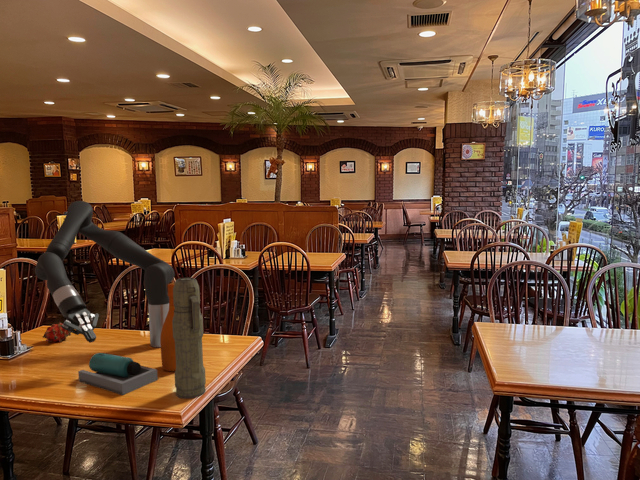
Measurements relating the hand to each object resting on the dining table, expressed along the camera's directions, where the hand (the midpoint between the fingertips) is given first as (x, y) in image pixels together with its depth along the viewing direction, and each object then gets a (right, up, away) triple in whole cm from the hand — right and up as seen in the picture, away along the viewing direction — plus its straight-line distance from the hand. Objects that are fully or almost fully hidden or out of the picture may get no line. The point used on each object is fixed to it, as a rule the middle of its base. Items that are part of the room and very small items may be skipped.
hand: (92, 340), depth 151 cm
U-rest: (+11, -12, -5) cm, 17 cm away
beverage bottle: (-1, -7, +2) cm, 7 cm away
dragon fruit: (-35, -9, +39) cm, 53 cm away
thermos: (+37, -13, -15) cm, 42 cm away
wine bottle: (+26, -11, +6) cm, 29 cm away
